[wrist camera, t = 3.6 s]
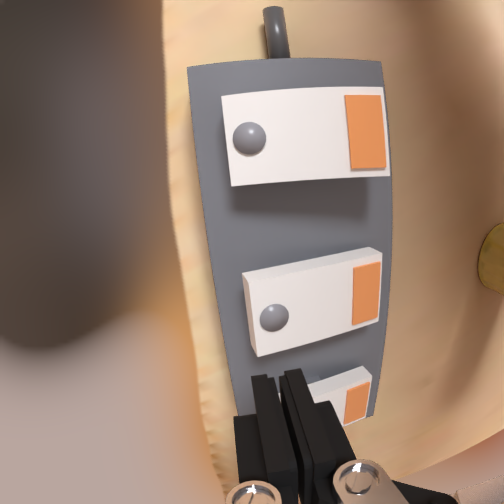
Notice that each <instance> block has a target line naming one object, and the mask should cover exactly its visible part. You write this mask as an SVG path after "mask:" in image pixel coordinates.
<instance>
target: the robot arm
mask: <svg viewBox="0 0 504 504" xmlns="http://www.w3.org/2000/svg"><path fill="white" fill-rule="evenodd" d="M251 382H252V389H253V396H254V402H255V409H256V414H250V415H242V416H234V431H235V442H236V453H237V463H238V474H239V483H240V484H238V485H237V486H235V487H234V488H233V489H232V490H231V491H230V492H229V493H228V495H227V498H226V501H225V504H298V493H299V497H300V501H301V504H504V475H502V476H499V477H496V478H493V479H491V480H488V481H485V482H482V483H480V484H476V485H473V486H470V487H467V488H464V489H460V490H457V491H456V493H454V494H451V495H447V494H445V493H440V492H436V491H432V490H427V489H423V488H419V487H415V486H411V485H408V484H404V483H401V482H397V481H394V480H391V479H390V478H389V476H388V475H387V474H386V472H385V471H384V470H383V468H381V467H380V466H379V465H378V464H377V463H375V462H373V461H370V460H365V459H359V460H357V459H356V457H355V454H354V452H353V450H352V448H351V445H350V443H349V441H348V439H347V436H346V434H345V432H344V430H343V428H342V425H341V423H340V421H339V419H338V416H337V414H336V412H335V410H334V407H333V405H332V403H331V402H330V401H329V400H328V401H323V402H319V403H314V400H313V398H312V395H311V393H310V390H309V387H308V385H307V382H306V380H305V377H304V375H303V372H302V370H301V368H298V369H292V370H287V371H284V375H282V376H279V388H280V398H279V394H278V390H277V387H276V383H275V379H274V377H270V378H268V376H267V374H262V375H255V376H251ZM280 400H281V402H280Z"/></svg>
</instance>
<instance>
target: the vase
mask: <svg viewBox="0 0 504 504" xmlns="http://www.w3.org/2000/svg"><path fill="white" fill-rule="evenodd" d="M478 272H479V277H480V280H481V282H482V283H483V285H484V286H486V287H487V288H490V289H492V290H495V291H497V292H498V293H500V294H502V295H503V296H504V223H501V224H499V225H497V226H496V227H494V228H493V229H492V230H491V231H490V233H489V234H488V235H487V237H486V239H485V241H484V243H483V245H482V248H481V251H480V255H479V261H478Z"/></svg>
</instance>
